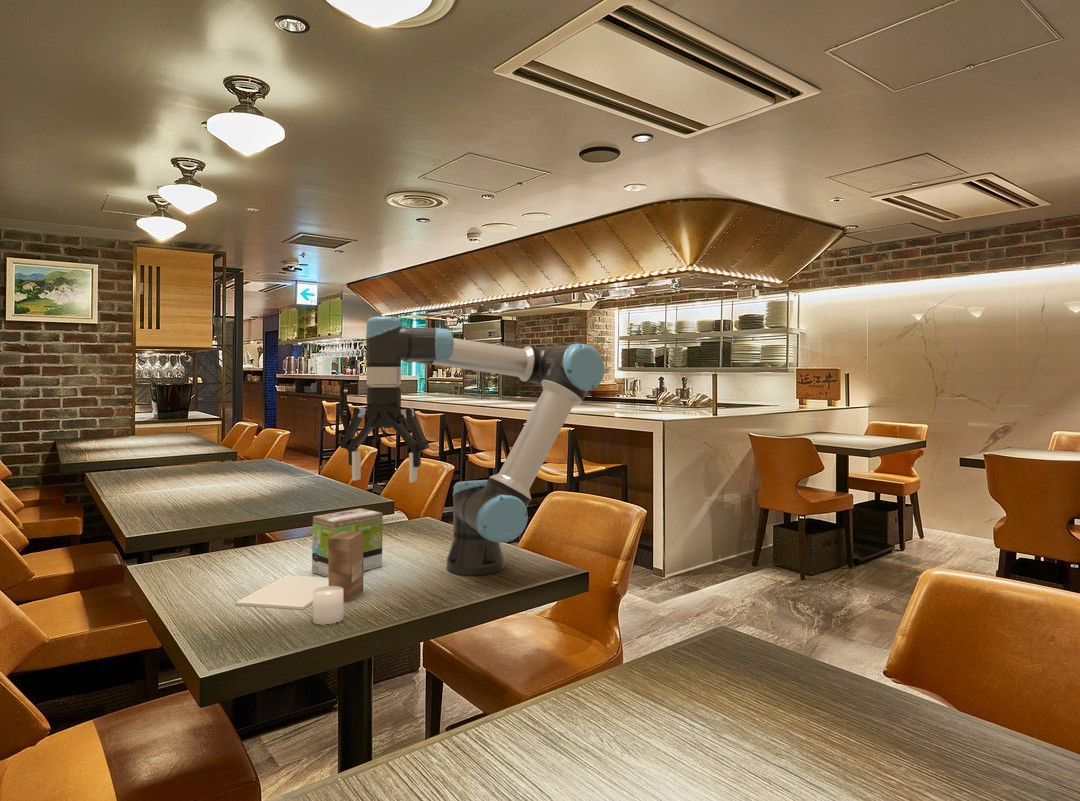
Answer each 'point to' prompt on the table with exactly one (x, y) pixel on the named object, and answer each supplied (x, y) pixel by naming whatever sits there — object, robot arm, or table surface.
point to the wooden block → (346, 563)
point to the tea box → (349, 522)
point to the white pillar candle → (328, 605)
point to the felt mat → (286, 593)
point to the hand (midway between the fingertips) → (384, 480)
